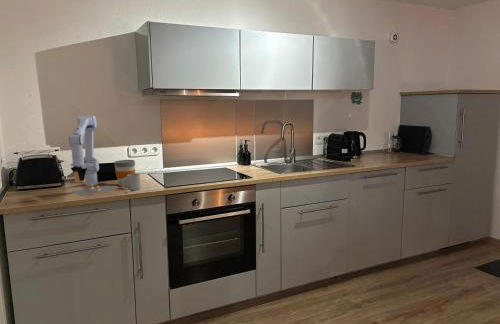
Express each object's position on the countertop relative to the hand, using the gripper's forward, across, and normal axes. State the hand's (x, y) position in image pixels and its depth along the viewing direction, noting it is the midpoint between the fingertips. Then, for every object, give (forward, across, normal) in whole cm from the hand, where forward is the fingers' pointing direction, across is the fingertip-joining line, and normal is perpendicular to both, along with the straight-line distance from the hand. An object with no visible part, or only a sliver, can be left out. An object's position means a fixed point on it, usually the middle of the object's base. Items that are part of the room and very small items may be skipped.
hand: (79, 179), depth 208 cm
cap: (+1, 0, 0) cm, 1 cm away
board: (+8, +2, +7) cm, 11 cm away
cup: (+9, +12, +25) cm, 29 cm away
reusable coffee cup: (+9, -4, +30) cm, 31 cm away
